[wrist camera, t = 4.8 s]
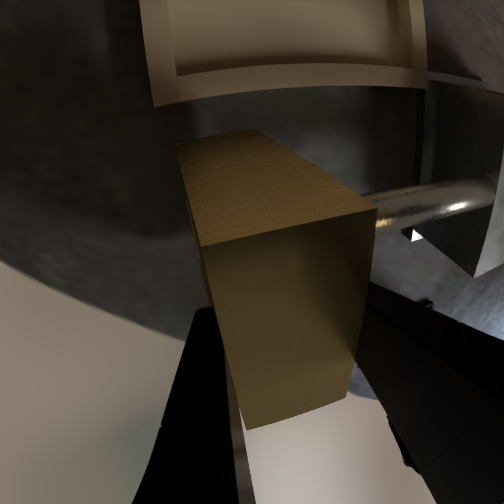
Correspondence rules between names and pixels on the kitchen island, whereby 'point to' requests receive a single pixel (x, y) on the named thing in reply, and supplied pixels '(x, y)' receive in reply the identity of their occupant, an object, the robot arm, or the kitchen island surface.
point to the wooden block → (279, 269)
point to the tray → (280, 45)
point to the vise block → (454, 175)
